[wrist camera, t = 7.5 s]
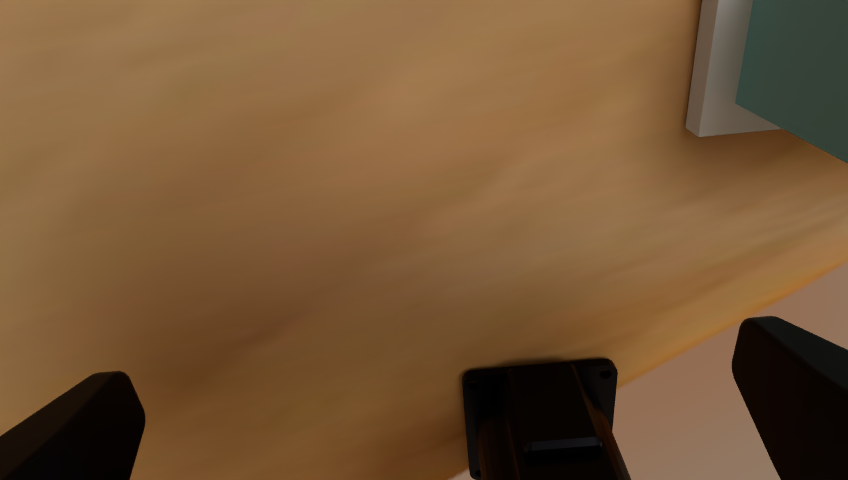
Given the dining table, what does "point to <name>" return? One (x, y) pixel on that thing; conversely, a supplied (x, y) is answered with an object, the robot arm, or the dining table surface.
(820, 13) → the socket block
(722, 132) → the base board
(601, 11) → the dining table surface
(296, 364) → the dining table surface
